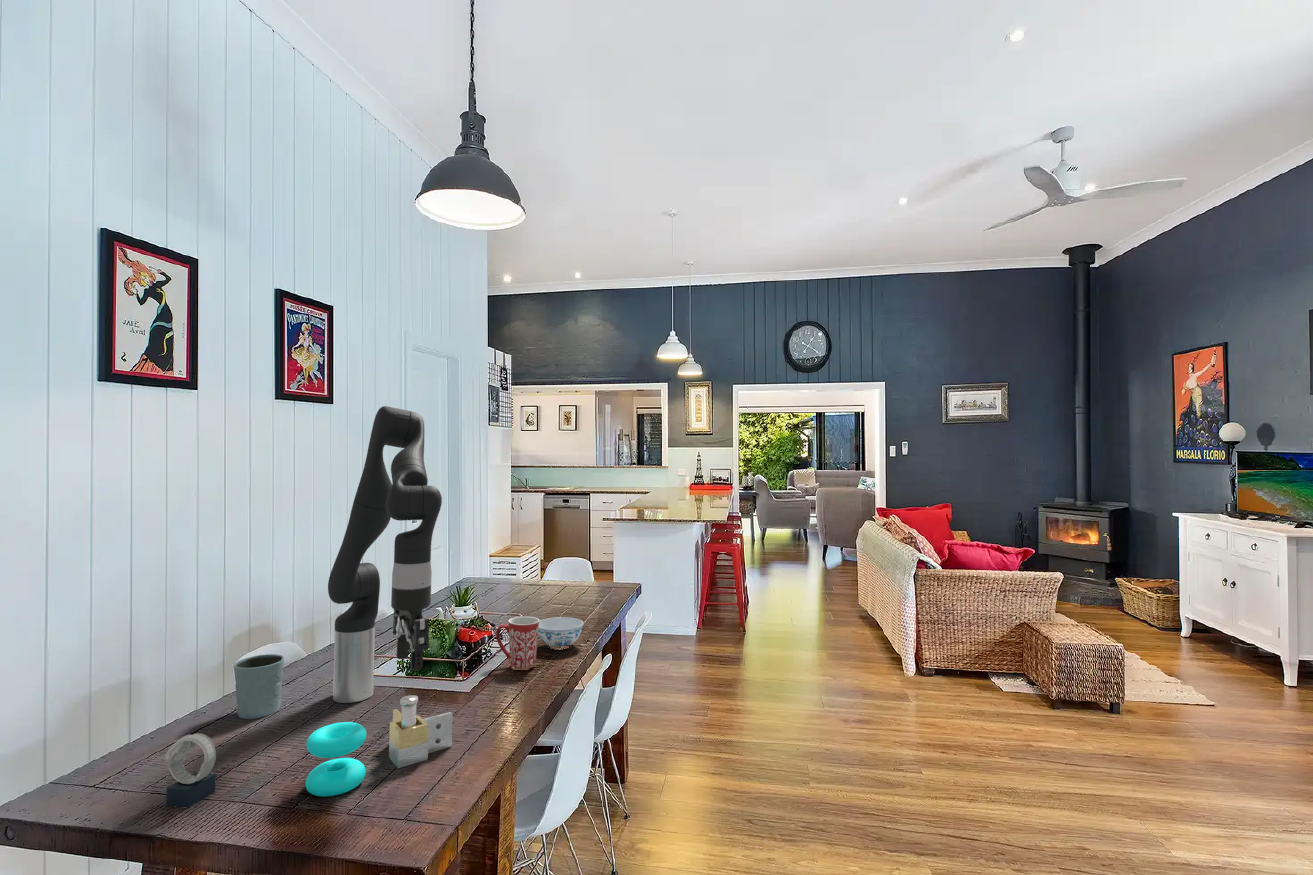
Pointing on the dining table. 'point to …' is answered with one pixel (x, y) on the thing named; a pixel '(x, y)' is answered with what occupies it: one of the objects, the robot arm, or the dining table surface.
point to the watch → (197, 783)
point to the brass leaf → (407, 732)
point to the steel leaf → (436, 741)
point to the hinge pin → (408, 711)
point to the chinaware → (559, 630)
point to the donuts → (340, 771)
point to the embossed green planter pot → (258, 685)
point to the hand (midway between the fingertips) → (409, 663)
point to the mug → (520, 641)
